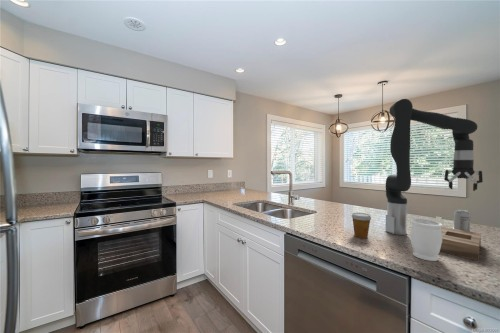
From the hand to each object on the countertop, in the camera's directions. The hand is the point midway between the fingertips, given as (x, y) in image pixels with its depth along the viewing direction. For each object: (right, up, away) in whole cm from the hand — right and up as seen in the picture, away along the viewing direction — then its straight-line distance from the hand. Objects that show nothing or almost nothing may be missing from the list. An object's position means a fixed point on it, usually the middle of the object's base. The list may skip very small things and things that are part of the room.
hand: (462, 189), depth 113 cm
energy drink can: (0, -26, 0) cm, 26 cm away
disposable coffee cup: (-52, -26, +3) cm, 58 cm away
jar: (-38, -26, -22) cm, 51 cm away
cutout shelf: (-14, -26, -12) cm, 32 cm away
